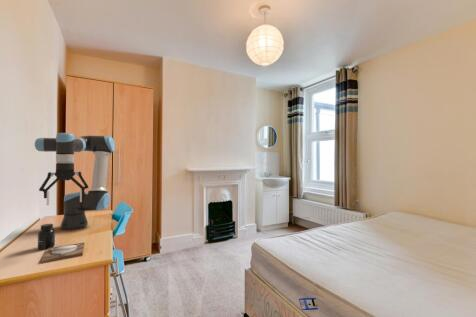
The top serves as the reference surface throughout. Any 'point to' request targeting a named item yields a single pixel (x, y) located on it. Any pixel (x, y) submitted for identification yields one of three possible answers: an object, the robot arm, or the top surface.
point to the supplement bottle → (46, 237)
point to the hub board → (63, 252)
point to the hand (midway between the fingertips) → (65, 203)
